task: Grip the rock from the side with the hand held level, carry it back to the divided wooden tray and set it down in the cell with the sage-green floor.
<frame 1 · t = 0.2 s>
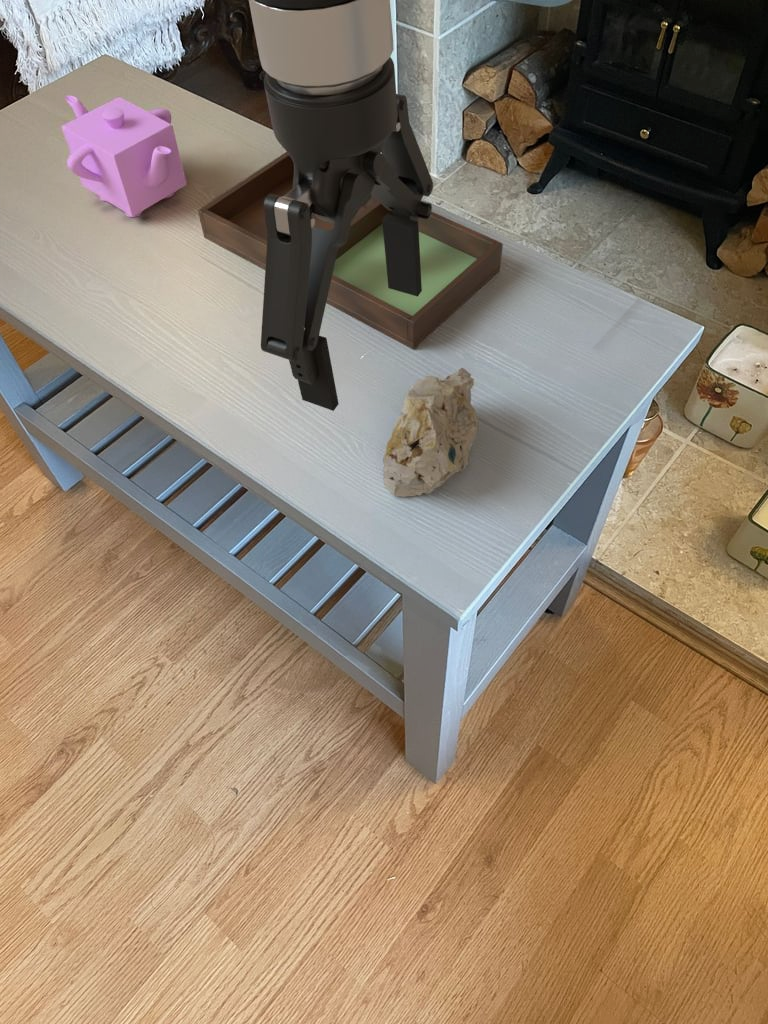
hand: (365, 343, 63), 17 cm above the table, tool pointing down, fingers open, 13 cm apart
divided wooden tray: (348, 253, 96), on the table
rock: (438, 458, 78), on the table
teapot: (137, 195, 104), on the table
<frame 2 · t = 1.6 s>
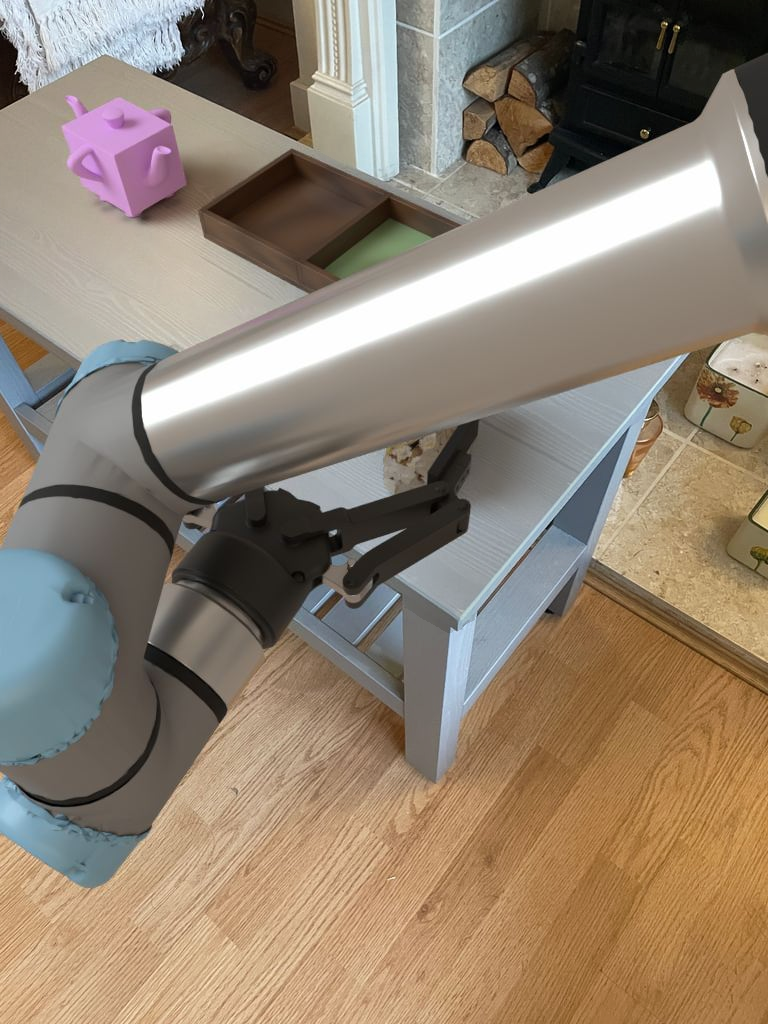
hand: (389, 387, 58), 18 cm above the table, tool horizontal, fingers open, 13 cm apart
nothing on the table moved.
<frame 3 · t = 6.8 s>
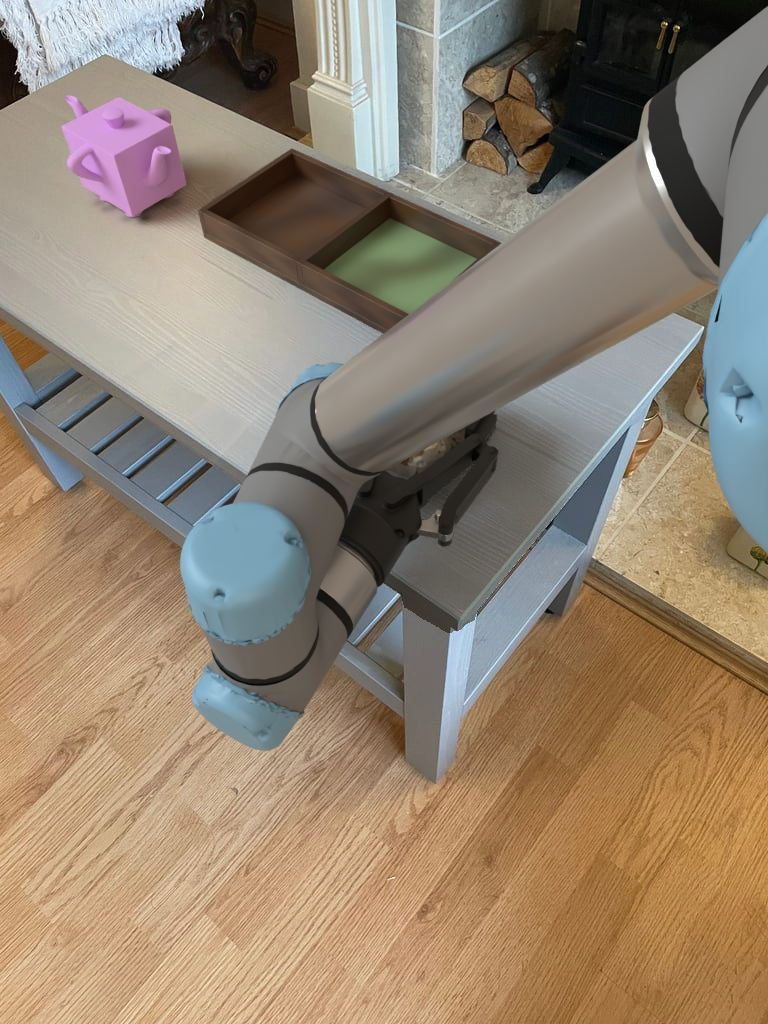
hand: (463, 378, 76), 6 cm above the table, tool horizontal, fingers closed on rock, 6 cm apart
rock: (439, 458, 78), on the table, touching gripper
everything else where it was.
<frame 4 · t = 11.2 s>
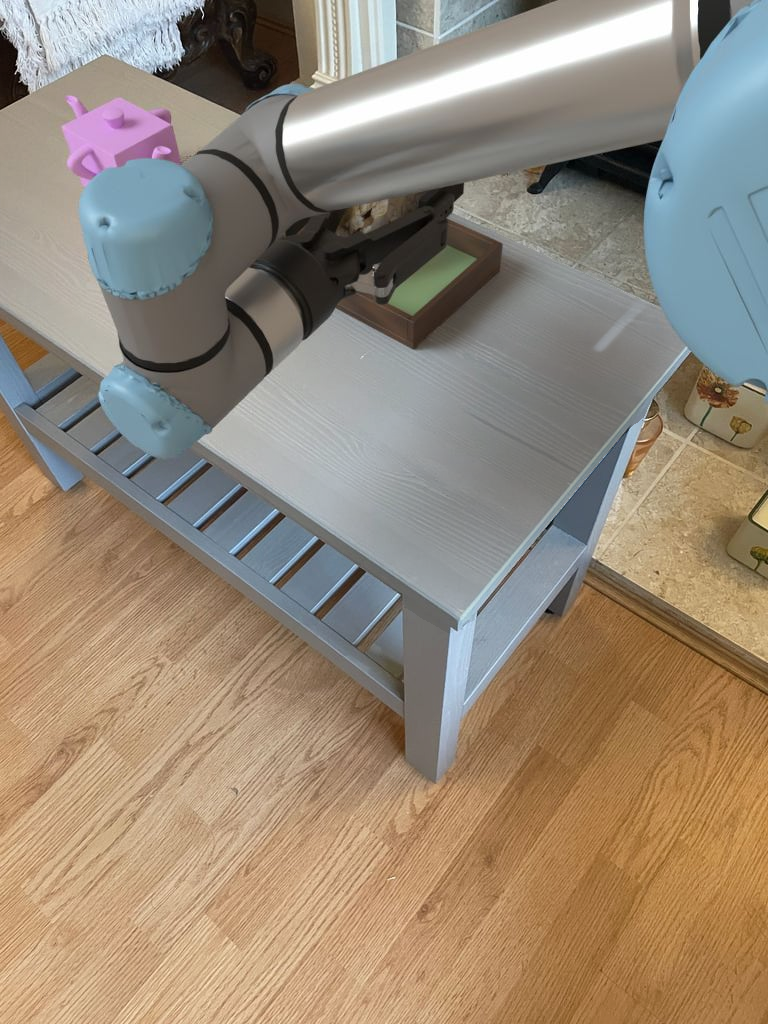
hand: (428, 167, 74), 18 cm above the table, tool horizontal, fingers closed on rock, 6 cm apart
rock: (399, 253, 77), point 12 cm above the table, touching gripper
everything else where it was.
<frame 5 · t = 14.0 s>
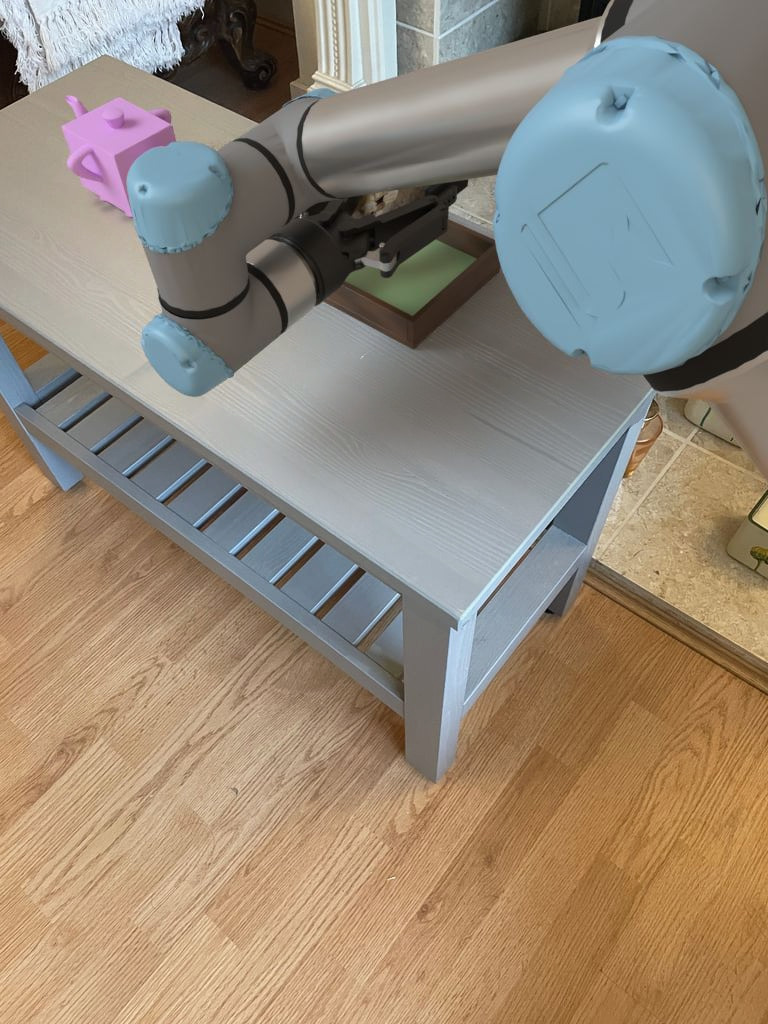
hand: (438, 161, 85), 13 cm above the table, tool horizontal, fingers closed on rock, 6 cm apart
rock: (410, 236, 87), point 7 cm above the table, touching gripper
everything else where it was.
when the fingers open (7 cm above the table, at t = 16.0 s): rock stays where it is, resting on divided wooden tray.
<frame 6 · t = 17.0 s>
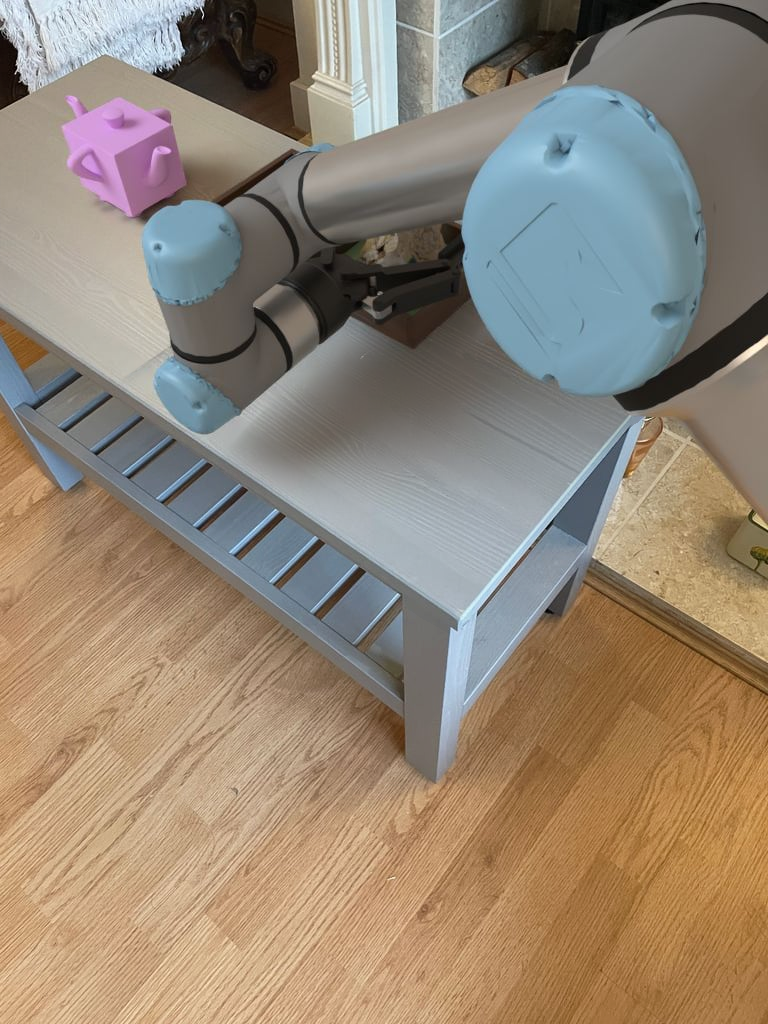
hand: (426, 210, 88), 8 cm above the table, tool horizontal, fingers open, 13 cm apart
rock: (409, 279, 92), point 1 cm above the table, touching divided wooden tray
everything else where it was.
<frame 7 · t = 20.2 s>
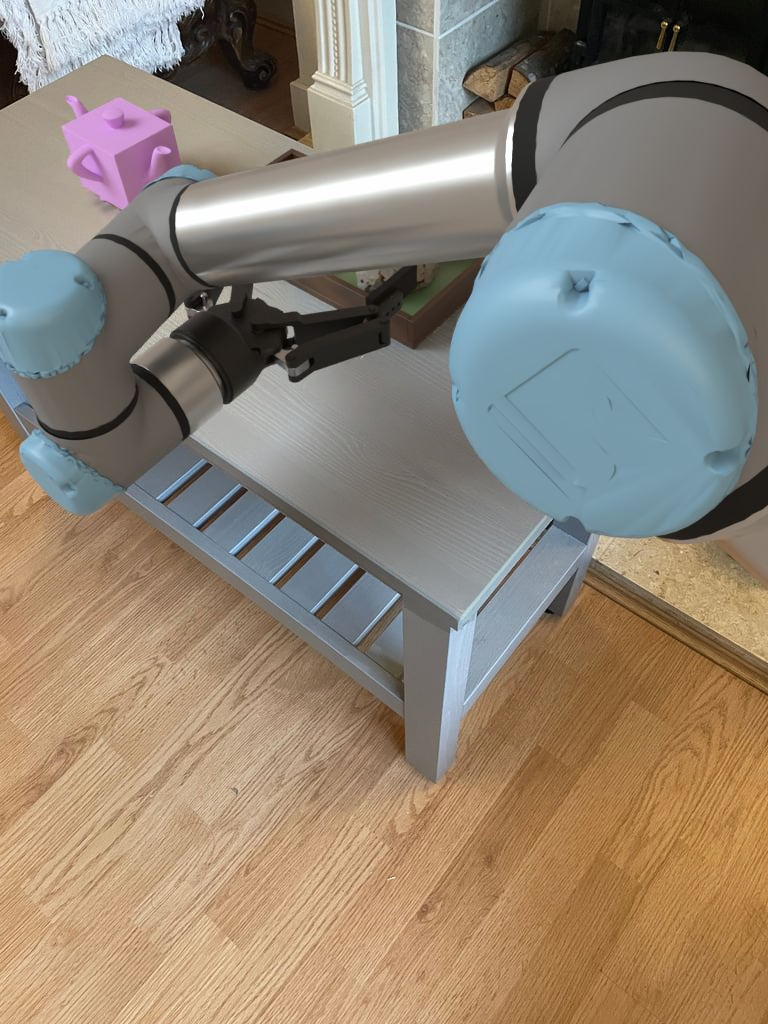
hand: (357, 246, 77), 13 cm above the table, tool horizontal, fingers open, 13 cm apart
nothing on the table moved.
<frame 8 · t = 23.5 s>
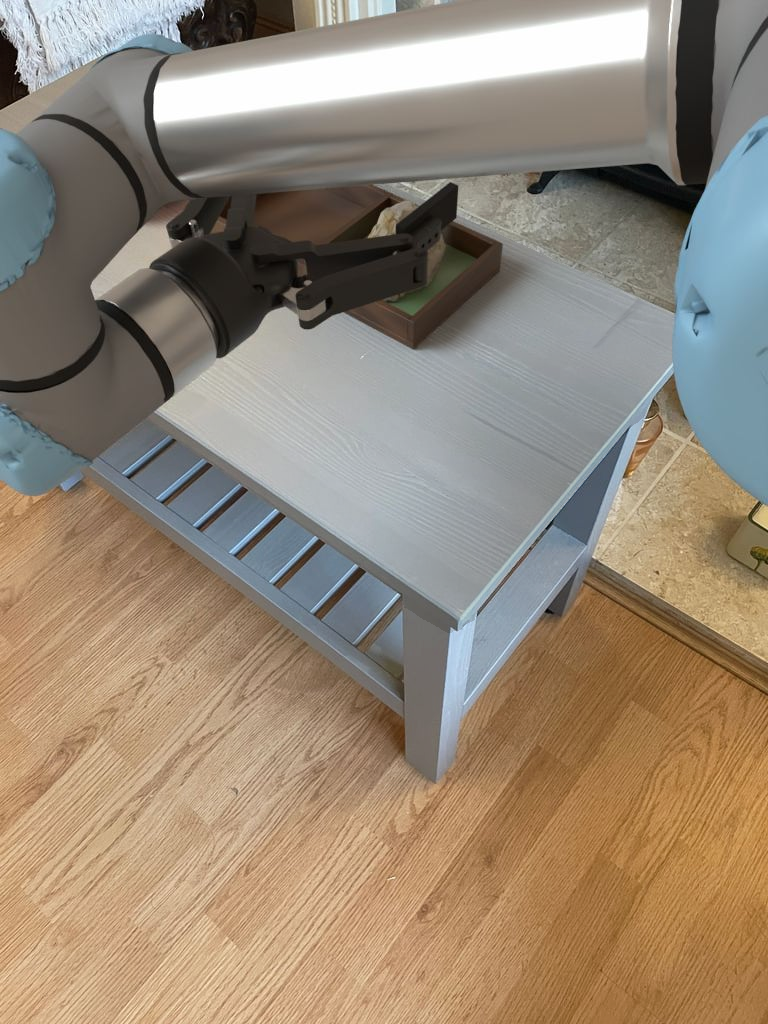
hand: (382, 168, 63), 25 cm above the table, tool horizontal, fingers open, 13 cm apart
nothing on the table moved.
at the end: rock inside the target area in the divided wooden tray (1.5 cm from its centre), point 0.8 cm above the divided wooden tray's base; the gripper is holding nothing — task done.
